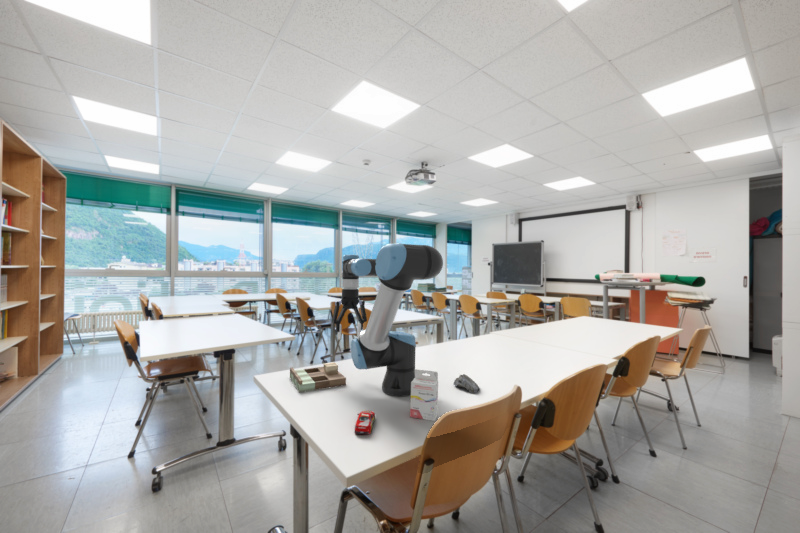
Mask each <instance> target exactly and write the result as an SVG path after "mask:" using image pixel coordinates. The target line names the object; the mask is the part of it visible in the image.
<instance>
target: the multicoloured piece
mask: <svg viewBox="0 0 800 533" xmlns="http://www.w3.org/2000/svg"><path fill="white" fill-rule="evenodd" d="M323 370H324V366H318V367H316V366H315V367H311V368H304V369H303V368H300V369H294V368H293V367H292V366H290V367H289V378H290V380H291V382H292V384H294V387H295V388H296V389H297V391H298V393H305V391H306V392H311V391H318V390H324V389H330V388H329V387H331V388H336V387H335V386H337V387H341V385H343V386H347V384H346V383H347V377H345V375H343V374H342V373H341V372H340V371H338V373H336V374H329V375H326V374H325V373H324V372H323Z"/></svg>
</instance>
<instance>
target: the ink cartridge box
mask: <svg viewBox="0 0 800 533" xmlns="http://www.w3.org/2000/svg"><path fill="white" fill-rule="evenodd" d="M425 374H427V375H425ZM438 376H439V375H438V371H432V370H425V369H418V368H417V369H416V368H415V378H414V379H413V381H412V382H411V395H410V404H409V406H410V409H409V413H410V414H409V416H410V418H414V419H420V420H427V421H432V422H436V419H437V417H438V408H439V406H438V405H439V404H438V403H439V379H438V378H439V377H438Z"/></svg>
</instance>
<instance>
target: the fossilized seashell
mask: <svg viewBox="0 0 800 533" xmlns="http://www.w3.org/2000/svg"><path fill="white" fill-rule="evenodd" d="M453 386H455V387H458V388H463V389H466V390H467V391H468V392H469V394H477V393H478V391H480V389H481V388H480V387H479V385H478V384H477V383H476V382H475V381H474V380H473V379H472V378H471V377H469V376H468V375H466V374H465V373H464V374H459V377H456V378H455V379H454V381H453Z"/></svg>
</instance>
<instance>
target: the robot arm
mask: <svg viewBox="0 0 800 533" xmlns="http://www.w3.org/2000/svg"><path fill="white" fill-rule="evenodd" d="M341 262H342V263H341V264H342V266H341V267H342V268H341V269H342V270H341V271H342V274H341V275H342V276H341V279H342V280H341V288H342V289H341V300H338V301H337V300H335V301H334V310H333V315H332V320H331V323H332V324H335V331H336V332H337V339H338V340H342V324H341V322H342V320H343V318H344V316H345V314H346V312H347V310H353V311H354V313H355V316H356V318H357V320H358V322H357V324H356V326H357V327H356V330H357V332H356V338H352V340H351V342H350V355H351V359H352V363H353V366H354V367H355V368H356V369H358V370H369V369H376V368H383V367H386V370H385V375H384V378H383V380H382V384H381V390H382V392H383V393H384V394H387V395H389V396H394V397H408V396H410V397H411V382H412V381H413V379H414V378H415V369H416V347H417V345H416V337H415V335H413V334H412V333H408V332H403V331H396V330H395V331H394V330H393V331H392V326H393V324H394V321H395V318H396V316H397V313H398V310H399V307H400V304H401V302H402V299H403V296H404V294H405V292H407V291H409V290H411V288H412V285H413V283H414V281H418V280H421V281H424V280H430V279H434V278H435V277H437V276H438V275H439V274H441V271H442V269H443V265H444V259H443V256H442V254H441V252H439V250H437V249H436V248H435V247H434V246H430V245H429V244H428V245H426V244H410V243H409V244H408V243H407V244H406V243H401V242H395V243H387V244H384V245H383V246H382V247H381V248H380V249H379V251H378V253H377V254H376V258H363V257H360V256H359V255H358V254H344V255H343V256H342V261H341ZM359 277H377V278H378V282H379V283H380V284H379V288H378V290H377V294H376V296H375V298H374V299H375V300H374V303H373V306H372V308H371V312H370V315H369V319H368V318H367V313H366V308H365V304H366V301H365V300H360V299H359V296H360V295H359V289H358V288H359V286H360V283H359V282H360V278H359ZM358 304H359V307H360V310H359V308H358ZM341 305H342V307H341ZM340 307H341V310H340ZM339 311H340V313H339ZM360 313H361V314H360ZM367 321H368V322H367ZM366 322H367V323H366ZM364 323H366V324H367V325H366V328H364Z"/></svg>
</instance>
